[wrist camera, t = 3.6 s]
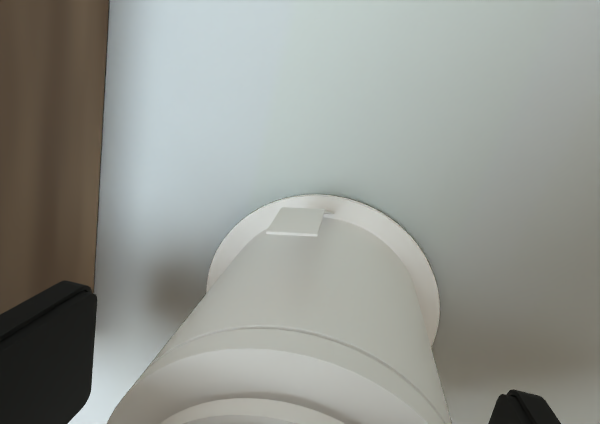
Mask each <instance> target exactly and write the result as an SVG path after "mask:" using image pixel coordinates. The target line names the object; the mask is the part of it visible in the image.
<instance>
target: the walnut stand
mask: <svg viewBox="0 0 600 424" xmlns="http://www.w3.org/2000/svg"><path fill="white" fill-rule="evenodd" d="M108 10H109V0H0V314H2V313H4V312H6V311H7V310H9V309H11V308H13V307H15V306H17V305H18V304H20V303H22V302H24V301H26V300H28V299H29V298H31V297H33V296H35V295H37V294H39V293H40V292H42V291H44V290H46V289H48V288H50V287H51V286H53V285H55V284H57V283H59V282H61V281H64V280H66V281H71V282H75V283H79V284H83V285H87V286H89V287H91V290H92V293H93V289H94V271H95V252H96V233H97V215H98V196H99V178H100V159H101V140H102V122H103V103H104V84H105V66H106V47H107V29H108Z"/></svg>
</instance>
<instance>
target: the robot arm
mask: <svg viewBox="0 0 600 424" xmlns="http://www.w3.org/2000/svg"><path fill="white" fill-rule="evenodd" d="M96 308H97V297H96V295H95V294H93V293H92V290H91V287H89V286H87V285H83V284H79V283H75V282H71V281H66V280H64V281H61V282H59V283H57V284H55V285H53V286H51V287H50V288H48V289H46V290H44V291H42V292H40V293H39V294H37V295H35V296H33V297H31V298H29V299H28V300H26V301H24V302H22V303H20V304H18V305H17V306H15V307H13V308H11V309H9V310H7V311H6V312H4V313H2V314H0V424H67V423H68V422H69V421H70V420H71V419H72V418H73V417H74V416H75V415H76V414H77V413H78V412H79V411H80V410H81V409H82V408H83V406H84V405H85V404H86V402H87V400H88V398H89V396H90V392H91V383H92V368H93V353H94V338H95V323H96ZM489 424H561V423H560V421H559V420H558V418H557V417H556V416H555V414H554V413H553V411H552V410H551V408H550V407H549V405H548V404H547V402H546V401H545V400H544V399H543V398H542V397H540V396H538V395H534V394H529V393H525V392H521V391H517V390H510V391H509V392H508V393H507V395H504V394H502V395H500V396H499V397H498V399H497V402H496V405H495V407H494V410H493V413H492V416H491V418H490V421H489Z"/></svg>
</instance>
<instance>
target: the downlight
mask: <svg viewBox="0 0 600 424" xmlns="http://www.w3.org/2000/svg"><path fill="white" fill-rule="evenodd" d="M439 315H440V302H439V293H438V288H437V284H436V280H435V277H434V274H433V272H432V269H431V267H430V264H429V262H428V260H427V259H426V257H425V255H424V253H423V251H422V250H421V249H420V247H419V246H418V244H417V243H416V242H415V241H414V239H413V238H412V237H411V236H410V235H409V234H408V233H407V232H406V231H405V230H404V229H403V228H402V227H401V226H400V225H399V224H397V223H396V222H395V221H394V220H392V219H391V218H390V217H388V216H386V215H385V214H383V213H382V212H380V211H378V210H376V209H374V208H372V207H370V206H368V205H366V204H363V203H360V202H358V201H355V200H351V199H348V198H344V197H338V196H333V195H321V194H313V195H299V196H293V197H288V198H284V199H280V200H277V201H274V202H272V203H269V204H267V205H265V206H262V207H261V208H259V209H257V210H255V211H254V212H252V213H251V214H249V215H248V216H246V217H245V218H244V219H242V220H241V221H240V222H239V223H238V224H237V225H236V226H235V227H234V228H233V229H232V230H231V231H230V232H229V233H228V234H227V236H226V237H225V238H224V240H223V241H222V243H221V244H220V246H219V248H218V249H217V251H216V253H215V255H214V258H213V260H212V262H211V266H210V269H209V273H208V278H207V286H206V295H205V296H204V297H203V299H202V300H201V301H200V302H199V304H198V305H197V306H196V307H195V309H194V310H193V311H192V312H191V314H190V315H189V316H188V317H187V319H186V320H185V321H184V322H183V324H182V325H181V326H180V327H179V329H178V330H177V331H176V332H175V334H174V335H173V336H172V337H171V339H170V340H169V341H168V342H167V344H166V345H165V346H164V348H163V349H162V350H161V351H160V353H159V354H158V355H157V356H156V358H155V359H154V360H153V361H152V363H151V364H150V365H149V366H148V368H147V369H146V370H145V371H144V373H143V374H142V375H141V376H140V378H139V379H138V380H137V381H136V382H135V384H134V385H133V386H132V387H131V389H130V390H129V391H128V392H127V393H126V395H125V396H124V397H123V398H122V400H121V401H120V402H119V404H118V405H117V406H116V408H115V409H114V411H113V413H112V415H111V416H110V418H109V420H108V422H107V424H452V422H451V419H450V415H449V411H448V408H447V404H446V400H445V397H444V393H443V389H442V386H441V382H440V378H439V375H438V371H437V367H436V364H435V360H434V356H433V353H432V349H431V347H432V344H433V342H434V340H435V336H436V333H437V329H438V324H439Z"/></svg>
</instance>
